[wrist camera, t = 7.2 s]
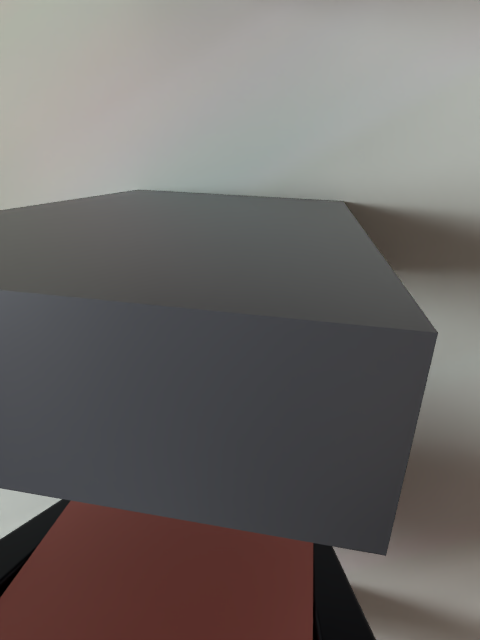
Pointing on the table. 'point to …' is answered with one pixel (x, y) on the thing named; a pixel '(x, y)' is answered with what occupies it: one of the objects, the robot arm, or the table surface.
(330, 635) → the robot arm
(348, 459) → the domino
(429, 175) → the table surface
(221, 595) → the domino
